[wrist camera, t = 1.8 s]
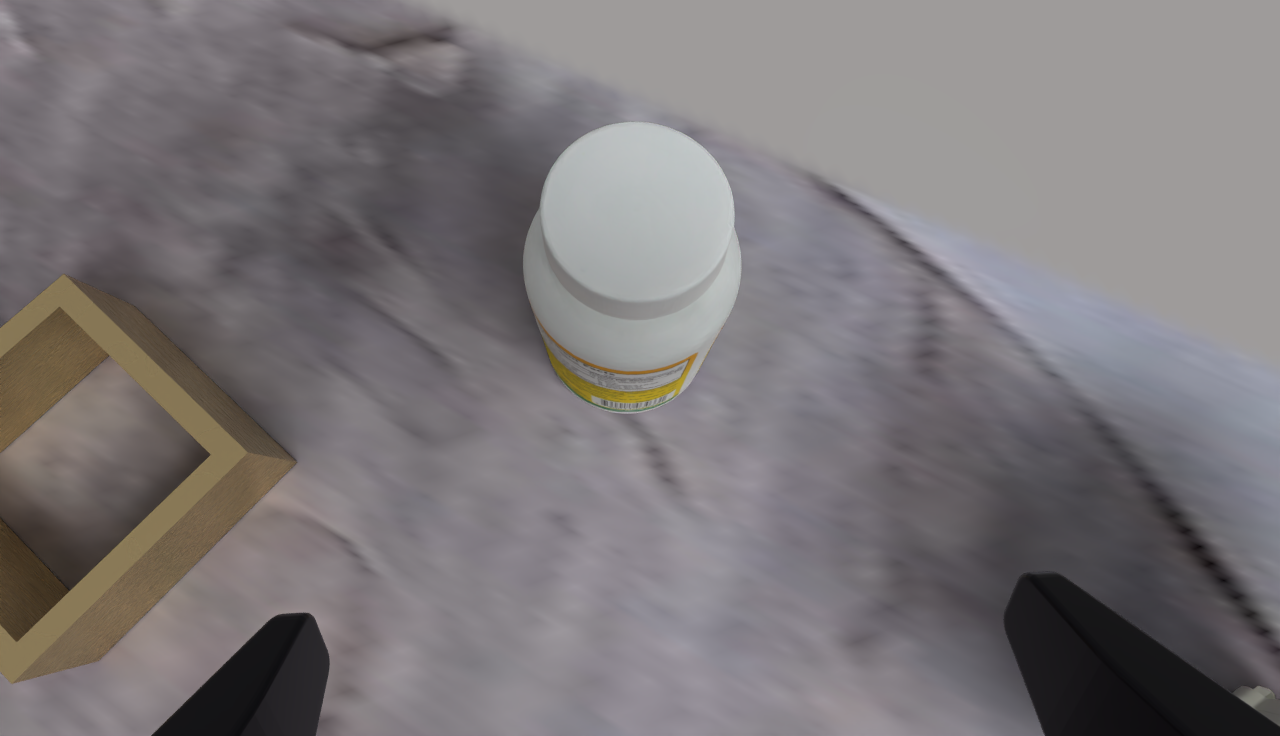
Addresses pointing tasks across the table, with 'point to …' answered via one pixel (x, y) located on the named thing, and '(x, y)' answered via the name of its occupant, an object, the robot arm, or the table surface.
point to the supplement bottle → (632, 264)
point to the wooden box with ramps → (173, 532)
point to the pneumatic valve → (1261, 701)
